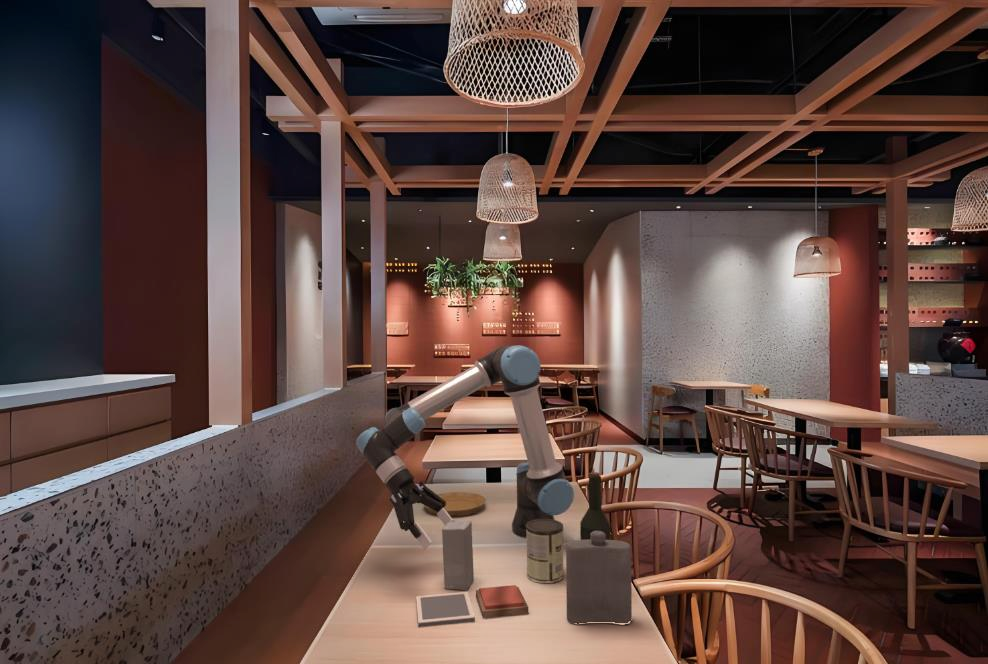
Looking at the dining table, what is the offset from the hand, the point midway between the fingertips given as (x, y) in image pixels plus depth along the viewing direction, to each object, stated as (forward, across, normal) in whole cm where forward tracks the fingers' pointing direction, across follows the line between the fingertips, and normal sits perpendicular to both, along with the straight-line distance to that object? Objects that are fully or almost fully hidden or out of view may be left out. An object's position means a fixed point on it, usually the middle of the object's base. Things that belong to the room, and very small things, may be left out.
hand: (441, 537), depth 148 cm
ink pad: (+22, +5, +6) cm, 24 cm away
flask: (+39, +2, +22) cm, 45 cm away
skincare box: (+12, -1, -5) cm, 13 cm away
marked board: (+14, +14, -2) cm, 20 cm away
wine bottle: (+36, -13, +19) cm, 43 cm away
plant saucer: (-11, -57, -29) cm, 65 cm away
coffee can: (+26, -15, +9) cm, 31 cm away
